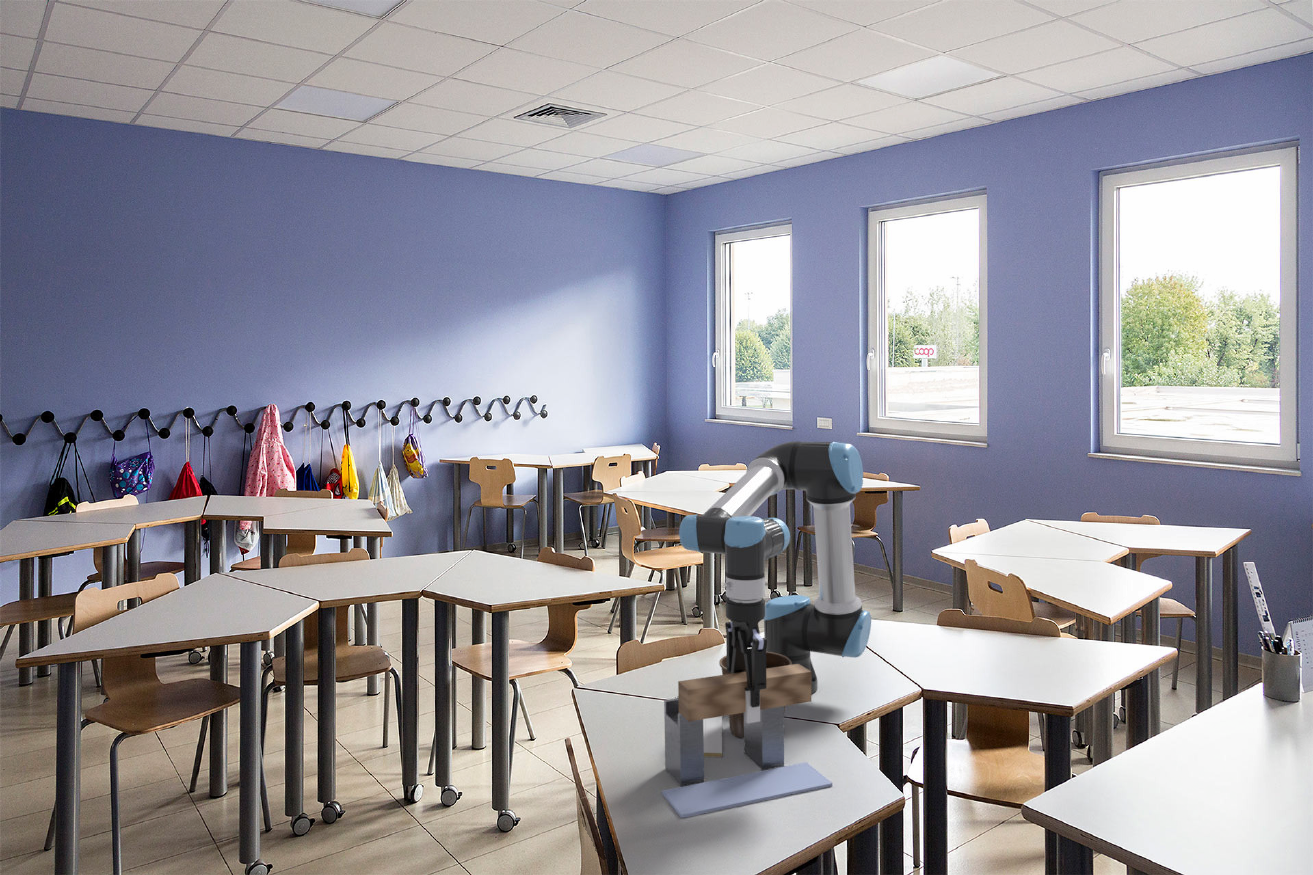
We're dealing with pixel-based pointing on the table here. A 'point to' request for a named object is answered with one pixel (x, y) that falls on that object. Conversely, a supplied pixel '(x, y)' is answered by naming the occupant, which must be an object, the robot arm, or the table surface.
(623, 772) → the table surface
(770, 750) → the stand
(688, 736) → the stand
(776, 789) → the felt pad
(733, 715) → the plant pot
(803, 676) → the oak rail
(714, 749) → the baseboard molding
